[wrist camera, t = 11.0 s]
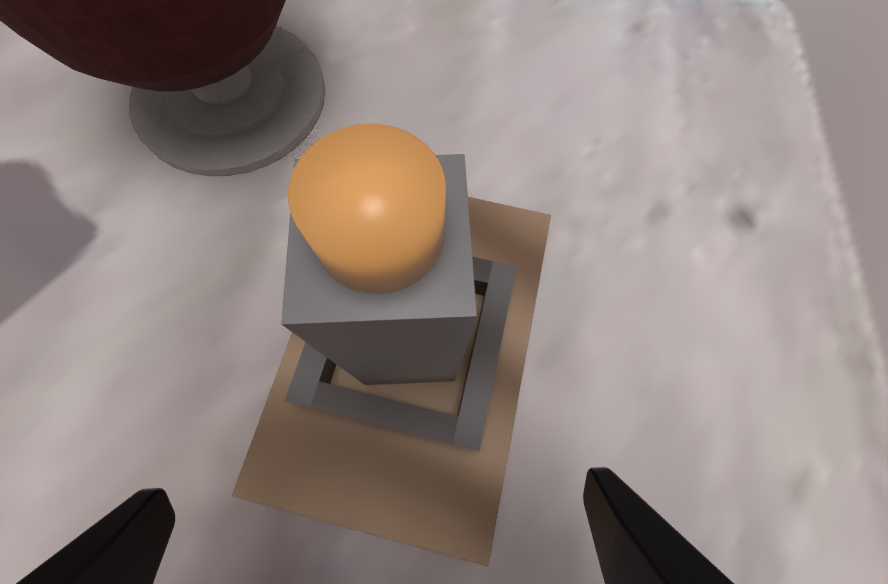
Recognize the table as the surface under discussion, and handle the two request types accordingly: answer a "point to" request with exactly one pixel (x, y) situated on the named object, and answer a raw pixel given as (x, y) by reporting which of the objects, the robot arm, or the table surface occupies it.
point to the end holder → (410, 417)
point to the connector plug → (380, 256)
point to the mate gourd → (189, 73)
